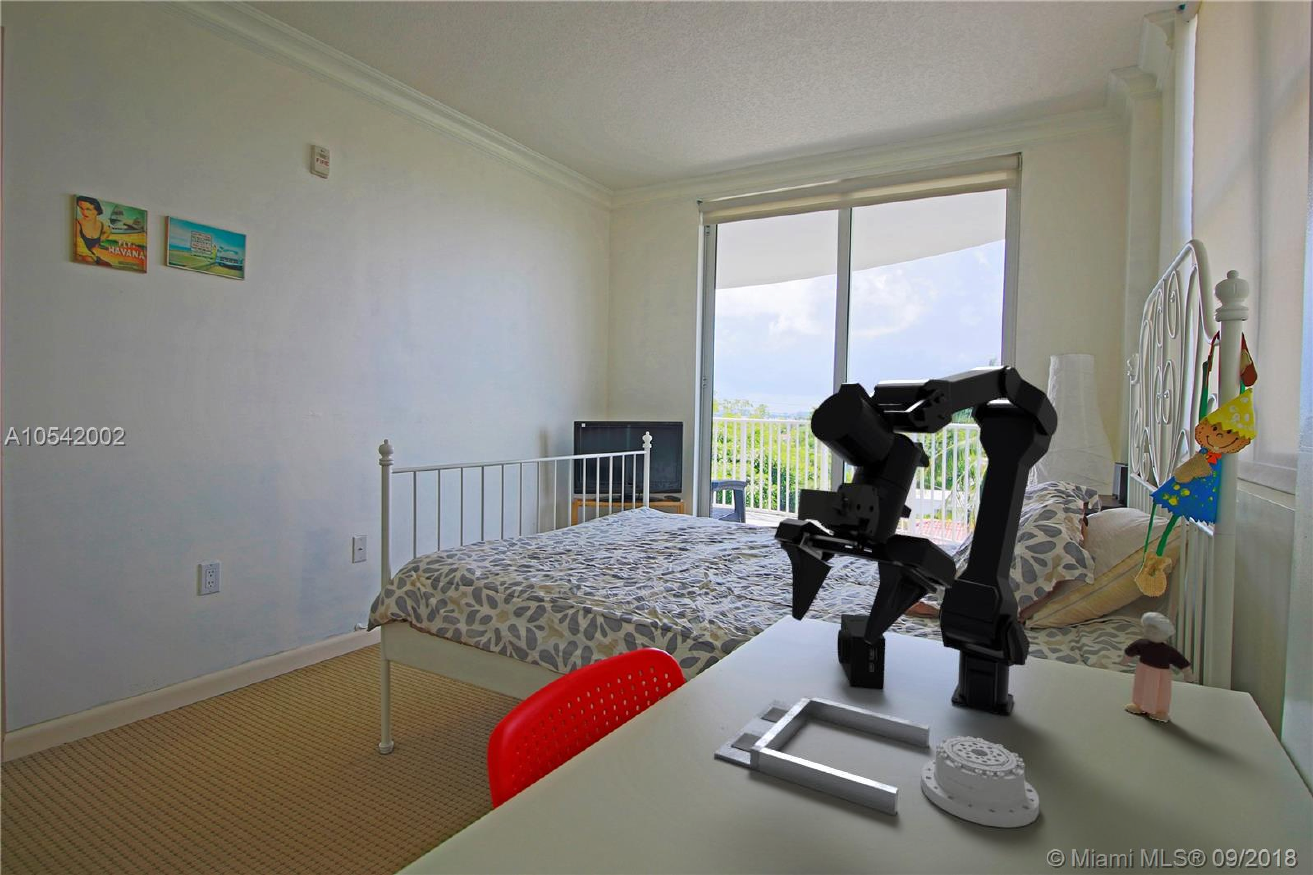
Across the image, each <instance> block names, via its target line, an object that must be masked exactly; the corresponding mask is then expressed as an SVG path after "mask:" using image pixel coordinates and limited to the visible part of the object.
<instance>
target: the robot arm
mask: <svg viewBox="0 0 1313 875" xmlns="http://www.w3.org/2000/svg"><path fill="white" fill-rule="evenodd" d="M971 408H972V409H971ZM968 409H971V413H970V415H971V416H970V417H971V418H972V419H973V420H974V422H975V423H976V425H977V426H978V428H979V437H978V439H979V441H980V444H981V447H982V448H983V451H984V453H985V455H986V457H987V466H986V470H985V476H984V482H983V486H982V491H981V495H980V500H979V505H978V510H977V515H976V520H975V524H974V529H973V535H972V539H971V544H970V549H969V554H968V559H967V562H966V567H965V569H964V570H963V571H962V572H961V573H960V574H959V575H958V576H957V577H956V575H957V565H956V561H955V559H954V557H953V556H952V555H950V554H949V553H948V552H947V551H945V550H944V549H943V548H941V547H940V546H939V545H937V544H936V543H934V542H933V541H932V540H930V539H929V538H927V537H921V536H914V535H913V536H912V535H906V534H900V533H896V531H897V529H898V526H899V523H900V519H901V518H902V519H910V516H911V513H912V510H913V509H912V508H911V507H909V506H908V505H907V504H906V502H907V498H908V496H909V493H910V490H911V487H912V484H913V481H914V478H915V476H916V472H917V469H918V468H927V469H928V468H929V467H930V465H931V463H930V458H929V456H928V454H927V453H926V451H925V450H924V445H923V442H920V441H919V442H918V441H913V440H912V438H910V437H909V436H908V435H906V434H928V435H930V434H931V435H933V434H936V433H938V432H939V431H941V430H942V429H944V428H945V427H947V426H949V424H951V423H952V422H953V415H954V414H956V413H958V412H962V411H965V410H968ZM1058 420H1059V419H1058V414H1057V411H1056V409H1055V407H1054V406H1053V403H1052V402H1051V400H1050V399H1049V396H1047V394H1046V392H1044V391H1043V390H1041V389H1039V388H1038V387H1037V386H1035V385H1033V384H1032V383H1030V382H1028V381H1026V380H1025V379H1023V378H1022V376H1021V374H1020V373H1019V371H1018V370H1017V368H1016V367H1011V366H1009V365H987V366H976V367H975V368H972V369H970V370H968V371H964V372H959V373H956V374H953V375H952V374H951V375H948V376H944V377H941V378H940V377H939V378H937V379H935V378H934V379H932V378H931V379H928V378H927V379H904V380H900V379H899V380H898V379H897V380H882V381H880V382H878V383H877V384H876V385H875V386H874V387H873V392H872V393H870V394H868V392H867V390H866V388H864V386H862V384H861V383H860V382H843V383H841V384H840V387H839V389H838V392H836V393H833V394H832V395H830V396H828V397H827V398H826V399H825V400H823V402H821V403H820V404H819V406H818V407H817V408H815V409H814V410H813V412H812V415H811V420H810V429H811V430H810V431H811V433H812V434H813V436H814V437H815V438H816V439H817V440H819V442H821V443H822V444H823V445H825V447H827V449H829V450H830V451H832V452H833V453H834V454H835V455H837V457H839V458H840V459H841V460H842V461H843V462H845V463H846V464H847V465H849V466H852V467H855V471H854V474H853V476H852V479H851V482H845V481H843V482H841V484H839V485H838V487H837V489H836V491H833V490H823V489H822V490H821V489H812V488H800V489H799V490H800V491H799V501H798V511H797V518H789V517H787V518H785V519H783V520H781V521H780V522H778V523H779V524H778V526H777V529H776V531H775V534H774V537H773V539H774V540H775V541H777V542H778V543H779V545H780V549H781V550H782V551H784V552H786V555H787V556H788V559H789V561H790V564H791V572H792V573H791V575H792V576H791V577H792V584H791V586H792V588H791V589H792V597H791V598H792V599H791V600H792V601H791V616H792V618H793V619H794V620H797V621H800V622H801V621H802V620H803V619H804V617H805V616H806V614H807V613H808V612H809V610H810V607H811V606H812V604H813V603H814V601H815V599H816V597H817V595H818V594H819V592H820V590H821V588H822V586H823V584H824V582H825V581H826V579H827V578H828V575H829V573H830V571H831V570H832V566H831V565H830V564H828V562H829V561H830V560H832V559H833V558H834V557H835V555H840V556H845V557H851V558H854V559H855V558H856V559H862V560H866V561H872V562H876V563H877V571H878V579H879V584H878V587H877V591H876V594H875V597H874V600H873V603H872V606H871V609H870V612H869V615H868V616H869V618H868V621H867V624H866V629H865V634H864V640H865V641H866V642H868V643H871V644H873V643H874V642H875V641H876V640H877V639H878V638H879V637H880V636H881V635H882V634H883V635H884V633H886V632H887V631H888V630H889V629H890V628H891V626H893V624H895V623H896V622H897V621H898V620H899V619H900V618H901V617H902V616H903V615H905V613H906V612H908V611H909V610H910V609H911V608H912V607H913V606H914V605H916V604H917V603H918V602H919V601H921V600H922V599H924V597H926V596H927V595H928V594H931V595H936V594H937V592H938V588H937V586H938V587H942V588H944V592H943V597H942V601H941V604H940V606H939V612H938V622H939V627H940V633H941V638H942V639H941V640H942V645H943V647H944V648H947V649H948V648H951V649H953V650H955V651H956V650H957V651H959V654H958V655H959V656H958V659H959V661H958V679H957V680H958V682H957V686H956V687H955V689H954V691H953V694H952V696H951V698H950V702H951V703H952V704H954V705H959V706H963V707H967V708H968V707H969V708H971V709H977V710H981V711H985V712H989V713H994V714H997V715H1003V716H1010V713H1011V709H1012V705H1013V702H1014V695H1013V694H1011V693H1009V684H1010V683H1009V682H1010V667H1012V666H1014V665H1015V666H1024V665H1026V660H1027V659H1028V656H1029V653H1030V651H1029V649H1030V645H1031V642H1030V640H1029V638H1028V637H1027V635H1026V633H1025V630H1024V629H1023V627H1022V625H1021V624H1020V622H1019V619H1018V614H1019V602H1018V601H1017V597H1016V595H1015V593H1014V591H1013V587H1012V586H1011V584H1010V582H1009V579H1010V572H1011V568H1012V562H1013V557H1014V552H1015V547H1016V542H1017V537H1018V532H1019V527H1020V526H1019V525H1020V521H1021V516H1022V510H1023V505H1024V501H1025V496H1026V491H1027V484H1028V480H1029V475H1030V471H1031V469H1032V468H1033V467H1034V466H1035V465H1036V464H1037V463H1038V462H1039V461H1040V460H1041V459H1042V458H1043V457H1044V456H1045V455H1046V454H1047V453H1048V452H1049V448H1050V444H1051V441H1052V437H1053V435H1055V433H1056V431H1057V428H1058ZM810 520H811V521H810ZM812 521H817V522H818V523H819V524H820V526H822V527H819V526H818V525H817V524H815V523H813V522H812ZM822 528H824V529H826V530H828V531H832V532H833V533H832V534H830V533H829V532H827V531H825V530H824V529H822Z"/></svg>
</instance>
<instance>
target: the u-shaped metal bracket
mask: <svg viewBox="0 0 1313 875" xmlns="http://www.w3.org/2000/svg"><path fill="white" fill-rule="evenodd" d="M809 718H815V719H819V720H822V721H825V722H830V723H834V724H837V725H841V726H844V727H848V728H852V729H856V730H860V731H862V732H863V731H864V732H866V733H870V734H875V735H878V736H882V737H885V738H889V739H894V740H897V741H901V742H904V743H907V744H911V745H914V746H915V745H916V746H919V747H923V748H926V749H927V748H928V746H929V744H930V725H927V724H922V723H919V722H914V721H910V720H908V719H907V720H906V719H903V718H900V717H895V716H892V715H887V714H883V713H880V712H875V711H871V710H869V709H863V708H859V707H857V706H856V707H855V706H851V705H847V704H843V703H840V702H836V701H832V700H827V699H823V698H820V697H816V696H813V695H808V694H805V695H804V696H803V697H802V698H801V699H800V700H799V701H798V702H797V703H796V704H792V703H788V702H784V701H780V700H776V699H774V700H772V701H771V702H770V703H769V704H767V705H766V707H765V708H763V709H762V710H761V711H760V712H759V713H757V714H756V715H755V716H754V717H753V718H752V719H750V720H749V721H748V722H747V723H746V724H745V725H744V726H743V727H742V728H741V729H739V730H738V731H737V732H736V733H735V734H734V735H733V736H732V737H731V738H729V739H728V740H727V741H726V742H725V743H724V744H722V745H721V746H720V747H719V748H718V749H717V750H716V751H714V753H713V754H714V758H717V759H720V760H724V761H727V762H731V763H733V764H736V765H739V766H742V767H745V768H748V769H752V770H754V771H758V772H761V773H763V774H766V775H769V776H773V777H775V778H779V779H782V780H785V781H787V782H791V783H794V784H797V785H800V786H803V787H806V788H809V789H813V790H815V791H818V792H821V793H823V794H824V793H825V794H827V795H831V796H834V797H837V798H840V799H843V800H846V801H848V802H849V801H850V802H852V803H855V804H858V805H862V806H865V807H867V808H870V809H873V810H876V811H880V812H883V813H885V814H889V815H891V816H896V814H897V811H898V800H899V797H898V796H899V788H898V787H894V786H892V785H888V784H885V783H881V782H878V781H875V780H872V779H869V778H866V777H862V776H859V775H856V774H852V773H850V772H845V771H843V770H840V769H836V768H832V767H829V766H827V765H823V764H820V763H816V762H813V761H810V760H806V759H803V758H800V757H797V756H795V755H790V754H788V753H787V754H786V753H783V752H781V751H780V750H781V749H782V747H784V746H785V744H786V743H788V741H790V739H791V738H792V737H793V736H794V735H795V734H796V733H797V732H798V730H799V729H800V728H801V727H802V726H803V725H804V724H805V723H806V722H807V721H808V720H809Z"/></svg>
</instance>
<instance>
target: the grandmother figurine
mask: <svg viewBox="0 0 1313 875" xmlns="http://www.w3.org/2000/svg"><path fill="white" fill-rule="evenodd" d="M1140 621H1141V626H1142V632H1143V635H1144V637H1145V638H1143V637H1142V638H1141V637H1140V638H1138V639H1136V640H1134V641H1133V642H1131V643H1130V644H1128V645H1127V647H1125V648H1124V650H1123V653H1122V654H1121V657H1120V658H1118V662H1119V664H1120V665H1121V666H1128V665H1129V664H1130V661H1131V660H1132V659H1133V657H1139V659H1138V661H1137V663H1136V665H1135V672H1134V677H1133V678H1134V679H1133V687H1132V694H1131V703H1128V704H1126V705H1125V706H1124V709H1125V708H1126V710H1129V711H1131V712H1135V713H1143V712H1147V714H1148V717H1149V716H1150V717H1151V718H1154V719H1159V720H1164V721H1165V720H1166V721H1168V720H1169V721H1170V715H1169V713H1170V705H1171V700H1172V692H1173V691H1172V682H1173V681H1172V680H1173V679H1172V669H1171V666H1174V667H1175V668H1177V669H1178V670H1180V672H1181V673H1182V674H1183V677H1184V680H1185V681H1187V682H1189V683H1192V682H1193V683H1194V682H1195V680H1196V677H1195V675H1194V673H1193V669H1192V668H1191V665H1192V664H1191V662H1190V661H1189V660H1188V659H1187V658H1186V657H1185V656H1184V655H1183V654H1182V653H1181V652H1180V651H1179V650H1177V649H1176V648H1175V647H1172V646H1171V645H1170V644H1168V643H1166V641H1167V640H1169V637H1171V636H1173V635H1174V634H1175V633H1177V631H1176V630H1175V627H1174V625H1173V624H1172V622H1171V620H1170V619H1168V618H1167V617H1166V616H1164V614H1162V613H1160V612H1151V611H1149V612H1145V613H1144V614H1143V615H1142V616H1141V620H1140ZM1126 710H1125V711H1126ZM1129 711H1128V712H1129ZM1131 712H1130V713H1131ZM1135 713H1134V714H1135ZM1151 718H1150V719H1151Z"/></svg>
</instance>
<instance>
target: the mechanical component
mask: <svg viewBox="0 0 1313 875" xmlns="http://www.w3.org/2000/svg"><path fill="white" fill-rule="evenodd" d="M935 748H936V750H935V758H934V759H933V760H930V761H928V762H927V763H926V764H925V765H923V766H922V769H921V773H920V774H921V775H920V786H921V789H922V791H923V792H924V795H925V796H926V797H927V798H928V799H929V800H930V802H932V803H933V804H935V805H936V806H938V807H939V808H940V809H942V810H944V811H946V812H948V813H949V814H951V815H954V816H956V817H959V818H961V819H963V820H966V821H968V822H973V823H976V824H979V825H982V826H989V827H990V826H991V827H998V828H1017V827H1023V826H1028V825H1029V824H1031V823H1032V822H1034V821H1036V819H1037V818H1038V815H1039V814H1040V800H1039V799H1040V798H1039V795H1038V793H1037V791H1036V789H1035V788H1034V787H1033V786H1032V785H1031V784H1030V782H1027V781H1026V780H1025V769H1026V768H1025V767H1026V766H1025V763H1024V762H1023V761H1024V760H1023V758H1021V757H1019V754H1018V753H1017V752H1010V751H1009V750H1008V749H1006V748H1004V746H1003V744H1001V743H996V744H995V743H993V742H990V741H987V740H984V739H983V738H981V737H977V738H975V737H972V736H970V735H969V736H966V737H964V736H962V735H957V737H955V738H950V739H949V738H947V737H942V741H941V742H939V743H938V744H936V747H935Z"/></svg>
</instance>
